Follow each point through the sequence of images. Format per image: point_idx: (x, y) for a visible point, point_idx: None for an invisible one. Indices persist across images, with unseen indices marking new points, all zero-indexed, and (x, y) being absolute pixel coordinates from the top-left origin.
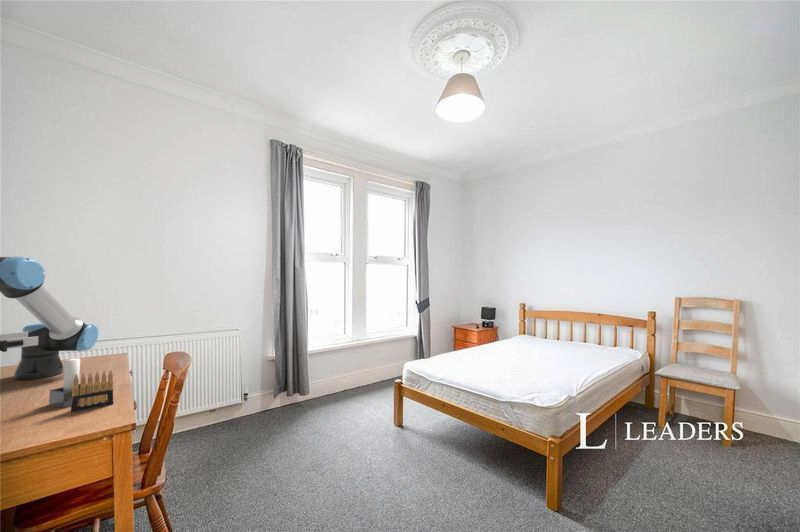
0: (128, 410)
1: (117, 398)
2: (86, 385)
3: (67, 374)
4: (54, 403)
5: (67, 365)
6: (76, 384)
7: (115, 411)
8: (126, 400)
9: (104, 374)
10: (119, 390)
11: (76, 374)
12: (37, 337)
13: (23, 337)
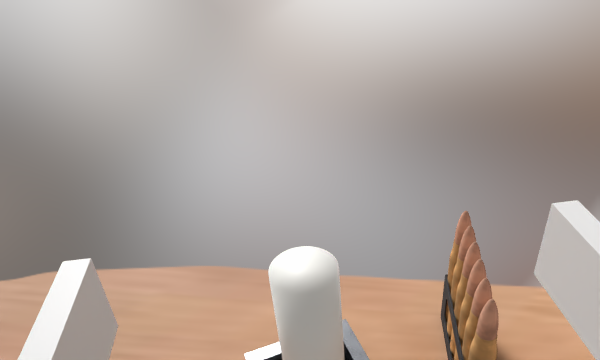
0: None
1: (391, 299)
2: None
3: (335, 340)
4: None
5: (330, 304)
6: (496, 335)
7: None
8: (440, 284)
9: (475, 239)
10: None
11: (492, 299)
12: (580, 211)
13: (102, 334)
